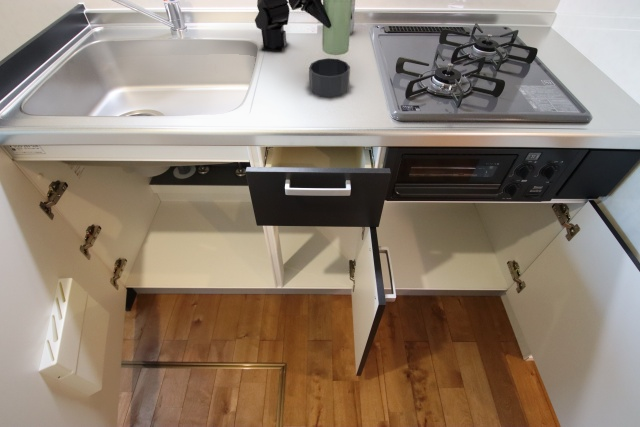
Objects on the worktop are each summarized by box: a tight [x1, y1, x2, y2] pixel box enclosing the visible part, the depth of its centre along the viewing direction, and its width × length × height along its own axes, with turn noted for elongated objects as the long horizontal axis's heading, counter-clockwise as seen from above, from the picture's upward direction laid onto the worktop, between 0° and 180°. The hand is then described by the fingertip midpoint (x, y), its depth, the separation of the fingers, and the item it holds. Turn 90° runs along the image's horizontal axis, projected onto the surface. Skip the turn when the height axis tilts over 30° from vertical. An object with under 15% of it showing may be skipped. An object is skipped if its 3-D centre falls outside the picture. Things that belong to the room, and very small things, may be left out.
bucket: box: [308, 57, 351, 99], centre depth 88 cm, size 10×10×6 cm
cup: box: [321, 0, 352, 56], centre depth 83 cm, size 7×7×13 cm
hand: (340, 23), depth 82 cm, fingers closed on cup, 7 cm apart
